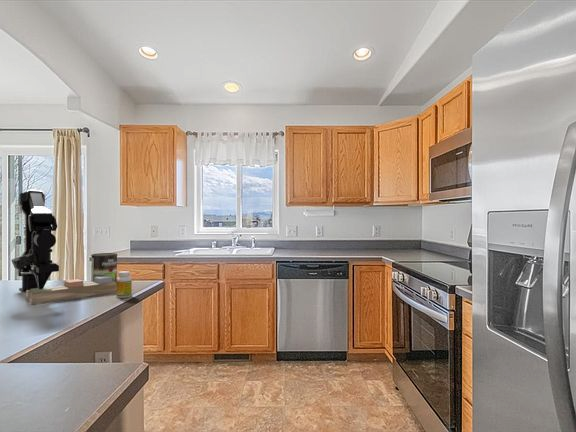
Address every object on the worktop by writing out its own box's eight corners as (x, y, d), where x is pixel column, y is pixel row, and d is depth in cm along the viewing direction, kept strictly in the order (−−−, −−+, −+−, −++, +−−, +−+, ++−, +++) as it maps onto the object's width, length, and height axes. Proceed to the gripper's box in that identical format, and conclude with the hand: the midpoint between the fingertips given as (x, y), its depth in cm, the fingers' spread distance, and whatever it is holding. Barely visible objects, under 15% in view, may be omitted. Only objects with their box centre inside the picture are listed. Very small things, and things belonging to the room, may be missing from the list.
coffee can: (121, 285, 161) (122, 254, 161) (99, 289, 152) (99, 256, 152) (108, 282, 167) (108, 252, 166) (85, 286, 158) (86, 254, 158)
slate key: (94, 286, 148) (94, 277, 148) (106, 285, 152) (106, 275, 152) (99, 288, 145) (99, 278, 145) (112, 286, 149) (112, 277, 149)
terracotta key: (64, 291, 140) (64, 280, 140) (78, 289, 144) (78, 279, 144) (69, 293, 137) (69, 282, 137) (83, 291, 140) (83, 280, 140)
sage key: (30, 299, 132) (30, 288, 131) (46, 297, 135) (46, 286, 135) (34, 302, 128) (34, 291, 128) (50, 299, 132) (51, 289, 132)
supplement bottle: (125, 298, 138) (125, 273, 138) (113, 297, 139) (113, 272, 139) (134, 295, 143) (134, 271, 143) (122, 294, 144) (122, 270, 144)
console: (25, 301, 131) (26, 290, 131) (108, 288, 154) (108, 279, 154) (32, 304, 127) (32, 293, 127) (115, 291, 149) (116, 282, 149)
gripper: (7, 245, 131) (6, 288, 132) (21, 250, 119) (21, 297, 120) (42, 244, 140) (42, 284, 140) (59, 248, 128) (59, 291, 128)
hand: (40, 289), depth 132 cm, fingers closed, pressing on sage key
